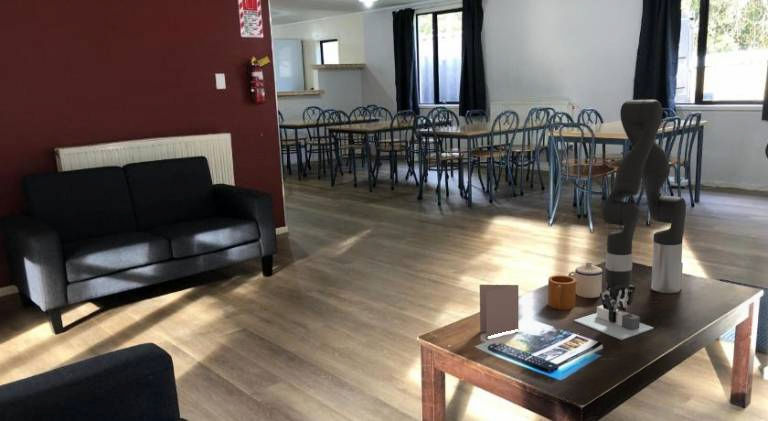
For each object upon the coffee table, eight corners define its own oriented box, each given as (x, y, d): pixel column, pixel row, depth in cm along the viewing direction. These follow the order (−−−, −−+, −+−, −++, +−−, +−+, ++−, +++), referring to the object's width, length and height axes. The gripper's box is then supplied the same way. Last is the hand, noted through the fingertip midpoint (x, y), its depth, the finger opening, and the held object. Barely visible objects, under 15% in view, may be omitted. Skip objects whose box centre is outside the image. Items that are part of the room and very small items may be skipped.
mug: (539, 309, 209) (539, 283, 207) (554, 298, 218) (554, 273, 217) (565, 314, 204) (565, 287, 202) (579, 303, 213) (580, 277, 211)
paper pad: (605, 311, 205) (605, 310, 205) (653, 328, 190) (653, 327, 189) (574, 321, 198) (574, 319, 198) (621, 339, 183) (621, 338, 183)
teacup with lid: (606, 293, 222) (607, 260, 219) (595, 300, 215) (596, 267, 213) (573, 286, 230) (574, 255, 227) (562, 293, 223) (562, 261, 221)
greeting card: (518, 331, 192) (518, 284, 189) (519, 341, 185) (519, 292, 182) (480, 330, 194) (479, 283, 191) (479, 340, 187) (479, 291, 184)
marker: (594, 316, 200) (594, 305, 199) (601, 313, 201) (601, 303, 201) (631, 330, 188) (632, 319, 187) (639, 327, 189) (639, 316, 189)
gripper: (624, 259, 197) (622, 312, 201) (592, 268, 191) (591, 322, 194) (644, 265, 191) (642, 319, 195) (612, 273, 184) (611, 329, 188)
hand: (616, 320), depth 194 cm, fingers closed on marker, 3 cm apart
